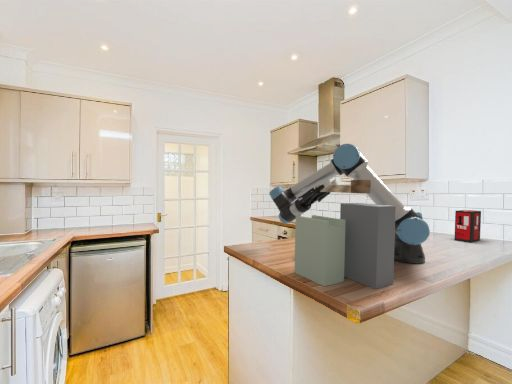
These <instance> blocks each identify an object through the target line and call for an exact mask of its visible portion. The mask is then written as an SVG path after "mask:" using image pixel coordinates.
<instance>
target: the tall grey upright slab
mask: <svg viewBox="0 0 512 384" xmlns="http://www.w3.org/2000/svg"><path fill="white" fill-rule="evenodd" d="M339 210H340V213H339V215H340V217H339V219H343V220H346V222H345V261H344V278H346V279H349V280H351V281H355V282H357V283H359V284H362V285H364V286H367V287H370V288H371V289H375V290H377V289H381V288H384V287H388V286H391V285H394V277H395V276H394V273H395V271H394V270H395V266H394V265H395V260H394V243H395V210H396V206H390V205H377V204H375V203H361V202H352V203H351V202H350V203H349V202H347V203H346V202H345V203H341V202H340V209H339Z"/></svg>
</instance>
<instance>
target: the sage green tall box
mask: <svg viewBox="0 0 512 384" xmlns="http://www.w3.org/2000/svg"><path fill="white" fill-rule="evenodd" d="M345 222H346V220H343V219H340V218H336V217H328V216H321V215H316V214H315V215H314V214H312V215H311V217H306V216H296V219H295V226H294V227H295V229H294V231H295V233H294V271H293V272H294V273H295V274H297V275H298V276H301V277H303V278H305V279H308V280H310V281H312V282H313V283H316V284H318V285H320V286H322V287H327V286H331V285H336V284H339V283H343V282H344V281H345V277H344V261H345Z"/></svg>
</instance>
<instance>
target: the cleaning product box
mask: <svg viewBox="0 0 512 384" xmlns="http://www.w3.org/2000/svg"><path fill="white" fill-rule="evenodd" d="M454 215H455V216H454V219H455V220H454V239H453V240H454V242H455V241H456V242H462V243H468V244H469V243H470V244H472V243H476V242H480V241H481V224H482V223H481V222H482V221H481V220H482V210H471V209H469V210H468V209H462V210H459V209H458V210H455V213H454Z"/></svg>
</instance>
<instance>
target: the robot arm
mask: <svg viewBox="0 0 512 384" xmlns="http://www.w3.org/2000/svg"><path fill="white" fill-rule="evenodd" d="M343 174H344V175H345V176H346V177H347V178H350V179H352V180H371V190H370V193H365V194H366V196H367V197H369V198H370V199H371V201H372V202H373V204H377V205H390V206H396V210H395V243H394V261H397V262H401V263H402V262H403V263H407V264H423V263H425V262H426V255H425V252H424V249H423V246H422V244H424V243H425V242H426V241H427V240H428V238H429V237H430V234H431V233H430V227H429V224H428V223H427V222H426V221H425V220H423V219H424V218H423V214H422V212H419V211H415V210H414V209H413V208H412V207H408V206H405V205H404V204H403V203H402V201H401V200H400V199H398V197H397V196H396V195H395V194H394V192H392V191H391V189H390V188H389V187H388V186H387V185H386V184H385V183H384V181H382V179H381V178H379V176H377V174H376V173H375V172H374V171H373V170H372V169H371V168H370V167H369V160H368V159H367V158H366V157H365V156H364V155H363V154H362V152H361V151H360V150H359V148H358V147H357V146H356V145H354V144H352V143H343V144H341V145H339V146H337V147H336V148H335V150H334V152H333V155H332V159H331V160H330V161H329V163H328V164H326V165H325V166H323V167H321V168H319V169H318V170H316V171H315V172H313V173H312V174H310V175H308V176H306V177H305V178H303V179H302V180H300V181H298V182H297V183H296V184H294V185H292V186H291V187H288V188H287V189H285V190H284V188H282V187H281V186H280V185H279V186H278V185H277V186H276V187H274V188H272V189H271V190H270V191H269V196H270V198H271V201H273V203H274V204H275V206H276V208H277V209H278V211H279V214H278V218H279V221H280V222H281V223H283V224H290V223H292V222H294V221H296V216H301V215H304V213H306V212H307V211H309V210H310V209H311V208H312V205H313V204H314V203H316V202H318V203H320V202H321V201H322V200H324V199H325V198H326V197H328V196H329V195H330V194H331V192H323V191H324V190H325V189H327V188H328V187H329V186H331V185H339V184H338V183H337V181H336V179H333V178H335V177H336V176H339V177H340V176H342V175H343ZM332 179H333V180H332ZM331 180H332V181H331ZM316 185H320V186H319V187H316ZM315 187H316V188H315ZM301 217H302V216H301Z"/></svg>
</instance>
